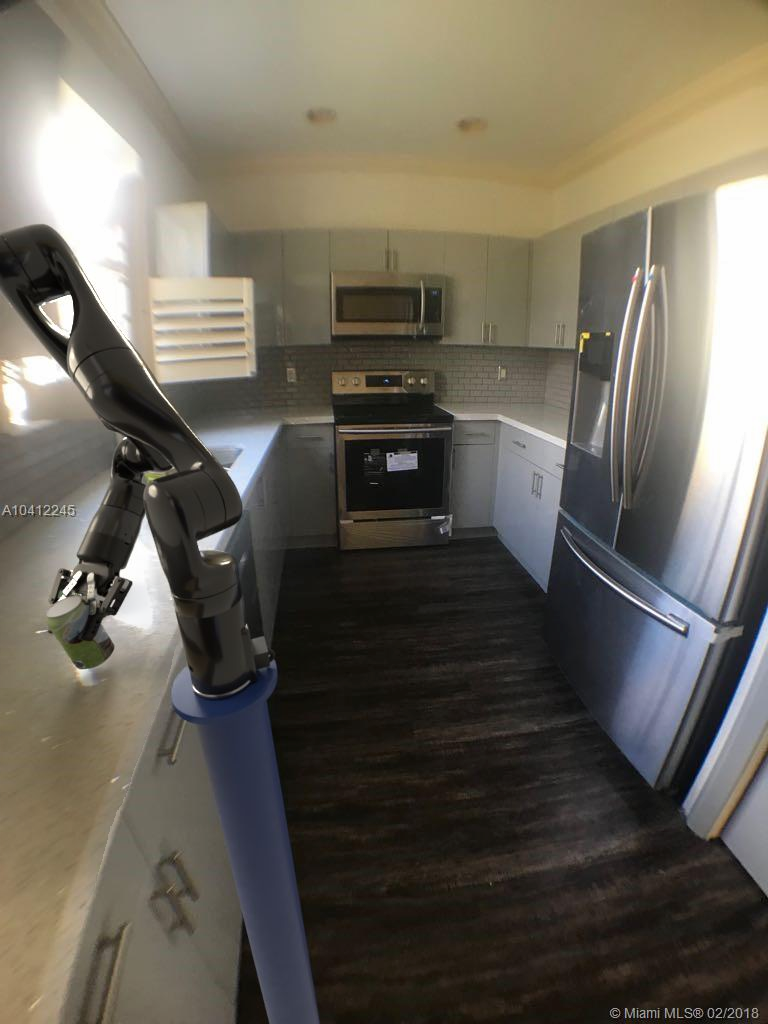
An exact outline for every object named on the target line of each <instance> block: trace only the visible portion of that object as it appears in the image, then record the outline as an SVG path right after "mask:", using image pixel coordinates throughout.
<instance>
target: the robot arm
mask: <svg viewBox="0 0 768 1024" xmlns="http://www.w3.org/2000/svg"><path fill="white" fill-rule="evenodd" d="M0 294H1V295H2V296H3V298H4V299H5V300H6V302H7V303H8V304H9V305H10V307H11V308H12V310H13V311H14V312H15V313H16V314H17V316H18V317H19V318H20V320H21V321H22V322H23V323H24V325H26V327H27V328H28V329H29V330H30V332H31V333H32V334H33V335H34V337H35V338H36V339H37V340H38V341H39V343H40V344H41V345H42V346H43V347H44V349H45V350H46V351H47V353H49V355H50V356H51V357H52V358H53V359H54V361H55V362H56V363H57V364H58V365H59V367H60V368H61V369H62V370H63V371H64V372H65V374H66V375H67V376H68V377H69V379H70V380H71V381H72V382H73V384H74V385H75V386H76V388H77V389H78V390H79V392H80V393H81V395H82V396H83V398H84V399H85V402H87V404H88V405H89V407H90V408H91V410H92V411H93V413H94V414H95V416H96V417H97V419H98V420H99V422H100V423H101V424H102V425H103V427H104V428H105V429H106V430H108V431H110V432H113V433H116V434H120V435H121V436H123V437H124V438H122V439H121V440H120V442H119V443H117V445H116V447H115V448H114V451H113V454H112V460H111V466H110V473H109V483H108V484H109V485H108V488H107V489H106V492H105V493H104V496H103V498H102V500H101V502H100V504H99V507H98V509H97V510H96V512H95V513H94V515H93V517H92V518H91V521H90V523H89V525H88V527H87V530H86V532H85V534H84V536H83V539H82V540H81V543H80V544H79V545H80V546H79V547H78V550H77V552H76V557H77V559H78V563H77V564H76V566H74V568H73V569H66V568H64V567H60V568H59V569H58V570H57V572H56V575H55V579H54V582H53V585H52V588H51V591H50V594H49V598H48V603H49V604H51V605H53V604H55V603H56V602H58V601H60V600H62V599H64V598H67V597H70V596H79V597H81V599H85V598H86V597H87V599H88V601H89V602H90V606H89V614H90V616H88V618H87V621H86V624H85V626H84V628H83V629H82V631H81V632H80V634H79V636H78V639H79V640H84V641H92V640H93V638H94V637H95V636H96V634H97V631H98V629H99V627H100V624H102V621H103V620H104V619H105V618H107V617H109V616H113V617H115V616H116V615H117V614H118V612H119V611H120V609H121V607H122V605H123V603H124V602H125V599H126V597H127V595H128V594H129V592H130V590H131V588H132V586H133V581H132V580H130V579H128V578H125V577H122V576H121V575H120V574H121V571H122V570H125V569H126V568H127V566H128V563H129V560H130V558H131V556H132V554H133V551H134V548H135V547H136V546H135V545H136V543H137V540H138V538H139V536H140V533H141V529H142V525H143V522H144V519H145V517H146V521H147V524H148V527H149V530H150V533H151V536H152V539H153V543H154V545H155V549H156V552H157V556H158V560H159V563H160V566H161V569H162V571H163V574H164V576H165V578H166V581H167V584H168V586H169V591H170V596H171V599H172V604H173V608H174V612H175V613H174V614H175V616H176V621H177V625H178V629H179V634H180V639H181V641H182V647H183V650H184V654H185V658H186V659H185V660H186V661H185V662H186V666H188V667H189V669H188V670H189V671H190V676H191V681H192V687H193V691H194V693H195V694H196V695H197V696H198V697H200V698H202V699H205V700H223V699H227V698H230V697H233V696H235V695H237V694H239V693H241V692H242V691H244V690H245V689H246V688H248V687H249V686H250V685H251V684H254V683H257V682H258V678H257V672H256V670H257V669H261V668H265V667H268V666H270V662H272V661H273V660H275V657H276V652H275V651H274V650H273V649H271V648H268V646H267V642H266V638H265V636H264V635H263V636H259V637H255V638H251V631H250V627H249V622H248V617H247V611H246V606H245V601H244V594H243V589H242V583H241V577H240V570H239V565H238V561H237V559H236V558H235V556H234V555H233V554H231V553H229V552H226V551H223V550H218V549H217V550H214V549H206V550H205V549H204V550H202V549H201V550H200V548H199V543H198V541H201V540H204V539H206V538H208V537H211V536H213V535H216V534H218V533H220V532H222V531H224V530H227V529H229V528H231V527H233V526H235V525H236V524H238V523H239V522H240V520H241V519H242V517H243V510H244V509H243V501H242V497H241V495H240V492H239V490H238V488H237V485H236V484H235V482H234V480H233V479H232V477H231V476H230V474H229V473H228V471H227V470H226V469H225V468H224V467H223V465H222V464H221V462H219V460H218V459H217V458H216V457H215V455H214V454H213V453H212V452H211V450H210V449H209V448H208V447H207V446H206V444H205V443H204V442H203V441H202V440H201V439H200V438H199V436H198V434H196V433H195V432H194V431H193V429H192V428H191V427H190V425H189V424H188V423H187V421H186V420H185V419H184V418H183V416H182V415H181V414H180V412H179V411H178V409H177V408H176V406H175V405H174V404H173V402H172V401H171V399H170V398H169V397H168V394H166V392H165V391H164V389H163V388H162V386H161V384H160V382H159V381H158V378H156V376H155V375H154V373H153V372H152V370H151V368H150V367H149V365H148V364H147V363H146V361H145V360H144V358H143V357H142V355H141V354H140V353H139V351H138V349H136V347H135V345H134V344H133V342H131V340H130V339H129V338H128V336H127V335H126V333H125V332H124V330H123V329H122V328H121V327H120V325H119V324H118V322H117V321H116V320H115V318H114V317H113V315H112V314H111V312H110V311H109V310H108V308H107V306H106V305H105V303H104V301H103V300H102V298H101V296H100V295H99V293H98V291H97V290H96V288H95V286H94V285H93V283H92V281H91V279H90V278H89V276H88V274H87V273H86V270H85V269H84V268H83V265H82V264H81V263H80V261H79V259H78V257H77V256H76V254H75V253H74V250H73V249H72V248H71V247H70V245H69V244H68V242H67V240H65V238H64V236H62V235H61V234H60V232H58V230H56V229H55V228H54V227H52V226H50V225H49V224H45V223H34V224H29V225H24V226H20V227H18V228H14V229H11V230H7V231H2V232H0ZM67 297H70V301H71V306H72V319H71V325H70V330H69V335H68V334H66V333H65V332H64V331H62V330H61V329H60V328H59V327H58V326H57V325H55V324H54V322H52V320H51V319H50V318H49V317H48V316H47V315H46V313H45V312H44V311H43V309H42V308H41V307H42V306H44V305H47V304H50V303H53V302H57V301H59V300H62V299H65V298H67ZM173 467H174V468H175V469H176V471H177V473H174V474H170V475H167V476H163V477H160V478H157V479H154V480H152V481H150V482H149V483H146V484H145V483H143V481H144V480H143V479H144V476H145V473H164V472H167V471H170V470H171V469H172V468H173ZM74 590H75V592H73V591H74ZM60 591H62V595H61V598H59V597H58V595H59V592H60ZM98 604H99V607H98ZM47 632H48V634H51V635H54V634H53V633H52V631H51V630H50V628H49V627H48V629H47ZM269 655H270V657H269Z"/></svg>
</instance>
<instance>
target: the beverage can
mask: <svg viewBox="0 0 768 1024" xmlns="http://www.w3.org/2000/svg"><path fill="white" fill-rule="evenodd" d="M89 606H90V604H89V602H88V601H86V600H84V599H81V597H79V596H70V597H67V598H64V599H62V600H60V601H58V602H56V603H55V604H51V606H50V607H48V608H47V610H46V611H45V615H46V618H45V623H46V626H47V627H48V629H49V628H50V630H51V631H52V633H53V634H52V635H53V636H54V637H55V639H56V640H57V642H58V643H59V644H60V646H61V648H62V649H63V651H64V652H65V654H66V655H67V657H68V658H69V659H70V661H71V662H72V664H73V665H74V666H75V668H77V669H78V670H91V669H95V668H98V667H99V666H101V665H102V664H104V663H105V662H107V660H109V658H110V657H111V656H112V654H113V653H114V651H115V643H114V642H113V640H112V639H111V637H110V635H109V634H108V632H107V631H106V629H105V627H104V626H103V624H102V623H101V624H100V627H99V629H98V631H97V634H96V636H95V637H94V638H93V640H92V641H84V640H79V639H78V636H79V634H80V632H81V631H82V629H83V628H84V626H85V624H86V621H87V618H88V616H90V614H89Z"/></svg>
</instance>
